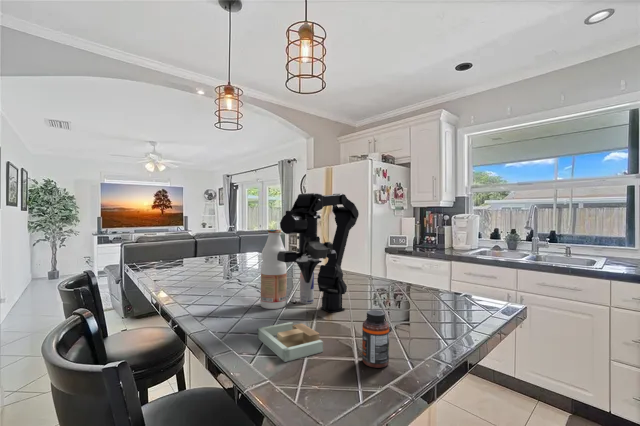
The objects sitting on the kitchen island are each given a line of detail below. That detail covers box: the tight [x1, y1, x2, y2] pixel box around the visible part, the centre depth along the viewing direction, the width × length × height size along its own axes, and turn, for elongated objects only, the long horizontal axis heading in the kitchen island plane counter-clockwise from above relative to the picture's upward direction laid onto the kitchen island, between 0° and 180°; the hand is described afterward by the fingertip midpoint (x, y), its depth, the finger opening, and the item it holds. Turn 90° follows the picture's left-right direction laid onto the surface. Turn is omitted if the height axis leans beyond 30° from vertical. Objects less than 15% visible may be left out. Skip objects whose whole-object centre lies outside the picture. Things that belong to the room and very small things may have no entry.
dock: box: [257, 321, 324, 363], centre depth 78 cm, size 10×16×2 cm, turn 33°
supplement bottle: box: [361, 309, 390, 369], centre depth 69 cm, size 6×6×11 cm
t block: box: [276, 323, 321, 348], centre depth 79 cm, size 9×9×3 cm
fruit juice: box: [260, 229, 288, 310], centre depth 113 cm, size 9×9×28 cm
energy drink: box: [299, 271, 315, 305], centre depth 118 cm, size 5×5×12 cm
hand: (307, 282), depth 97 cm, fingers closed
